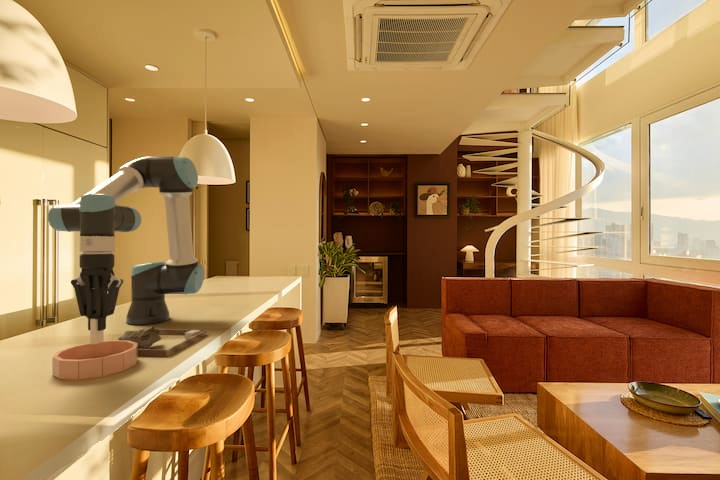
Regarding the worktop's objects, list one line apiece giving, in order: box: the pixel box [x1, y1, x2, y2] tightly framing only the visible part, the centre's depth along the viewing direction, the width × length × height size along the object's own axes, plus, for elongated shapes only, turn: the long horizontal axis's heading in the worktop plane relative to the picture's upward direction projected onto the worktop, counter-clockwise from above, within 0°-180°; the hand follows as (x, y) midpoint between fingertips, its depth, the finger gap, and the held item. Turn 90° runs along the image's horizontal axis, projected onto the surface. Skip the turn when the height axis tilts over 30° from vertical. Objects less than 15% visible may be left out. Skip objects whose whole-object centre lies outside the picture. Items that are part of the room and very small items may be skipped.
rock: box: [117, 326, 163, 349], centre depth 113 cm, size 11×6×10 cm
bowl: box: [51, 339, 139, 381], centre depth 98 cm, size 18×18×4 cm
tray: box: [138, 328, 208, 358], centre depth 119 cm, size 23×21×2 cm
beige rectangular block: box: [184, 329, 201, 340], centre depth 126 cm, size 4×3×2 cm
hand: (96, 342), depth 98 cm, fingers closed
